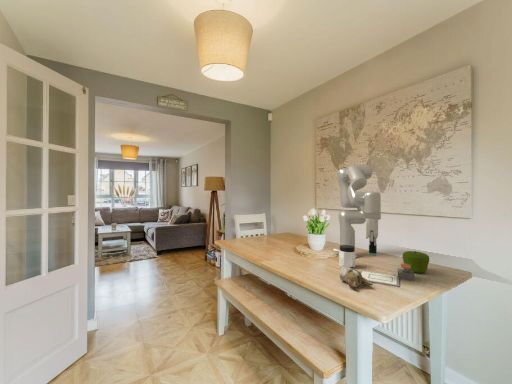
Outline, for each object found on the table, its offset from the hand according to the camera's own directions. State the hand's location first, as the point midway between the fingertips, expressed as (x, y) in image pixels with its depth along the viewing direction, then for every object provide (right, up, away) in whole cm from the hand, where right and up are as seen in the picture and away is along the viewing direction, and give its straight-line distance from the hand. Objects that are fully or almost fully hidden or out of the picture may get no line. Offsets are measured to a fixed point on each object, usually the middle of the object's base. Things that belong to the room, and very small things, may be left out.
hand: (372, 252), depth 122 cm
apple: (+29, -13, +10) cm, 33 cm away
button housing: (+17, -13, +1) cm, 22 cm away
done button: (+17, -11, +1) cm, 20 cm away
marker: (0, -2, 0) cm, 2 cm away
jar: (-6, -13, +19) cm, 24 cm away
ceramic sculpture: (-14, -13, -9) cm, 21 cm away
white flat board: (+2, -13, -1) cm, 13 cm away
